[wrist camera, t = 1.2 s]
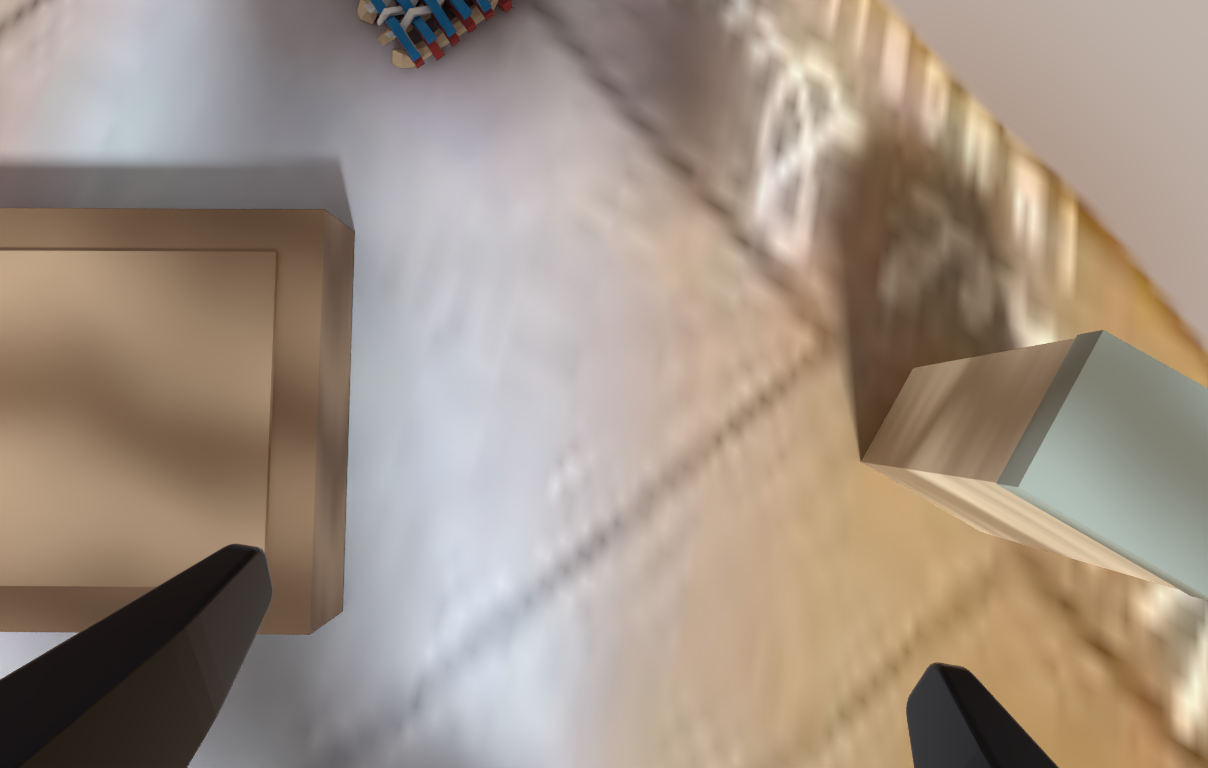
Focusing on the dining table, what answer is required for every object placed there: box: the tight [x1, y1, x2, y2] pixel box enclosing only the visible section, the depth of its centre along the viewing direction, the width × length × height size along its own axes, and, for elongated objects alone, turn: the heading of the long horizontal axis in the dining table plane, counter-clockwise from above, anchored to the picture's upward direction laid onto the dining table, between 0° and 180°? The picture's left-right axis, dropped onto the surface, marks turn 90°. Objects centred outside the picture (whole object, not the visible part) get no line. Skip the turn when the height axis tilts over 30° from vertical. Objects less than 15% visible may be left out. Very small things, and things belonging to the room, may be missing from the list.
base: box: [0, 208, 355, 635], centre depth 22 cm, size 14×14×3 cm
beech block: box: [861, 330, 1208, 601], centre depth 19 cm, size 4×5×9 cm
